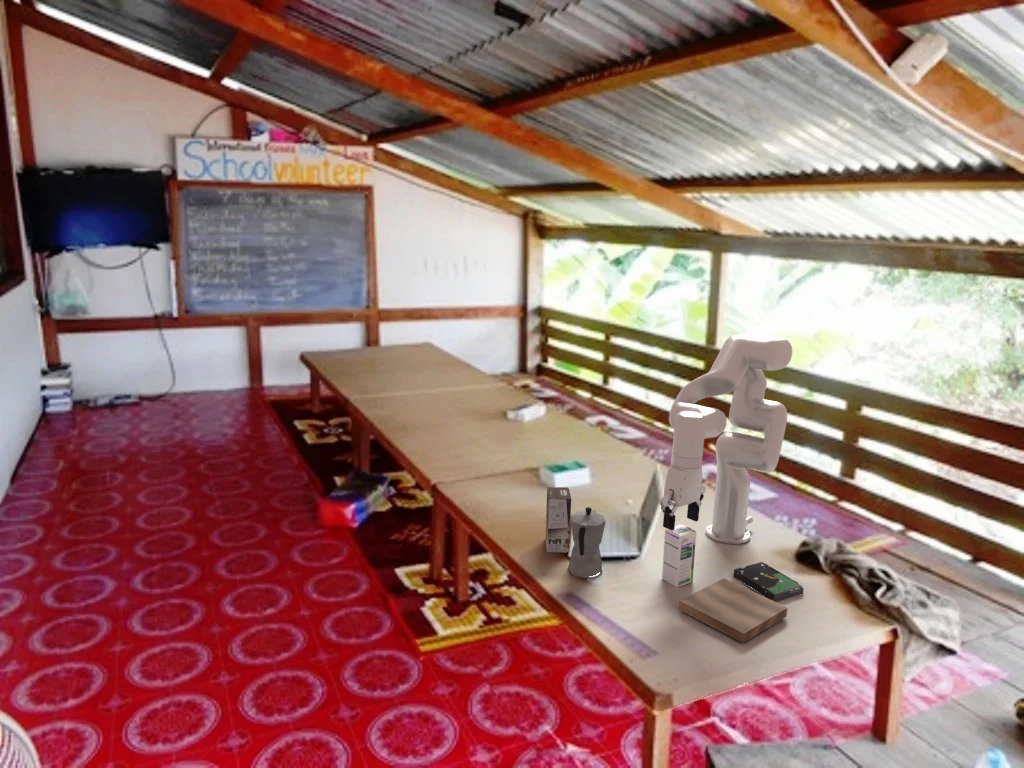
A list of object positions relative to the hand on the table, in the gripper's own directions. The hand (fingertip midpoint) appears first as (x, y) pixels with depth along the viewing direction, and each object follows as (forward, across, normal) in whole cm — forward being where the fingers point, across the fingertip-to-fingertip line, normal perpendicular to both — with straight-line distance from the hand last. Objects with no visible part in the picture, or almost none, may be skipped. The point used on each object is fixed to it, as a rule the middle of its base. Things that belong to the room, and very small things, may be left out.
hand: (680, 524), depth 198 cm
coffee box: (+16, +10, -34) cm, 39 cm away
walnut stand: (+16, +2, +19) cm, 25 cm away
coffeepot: (+17, +15, -18) cm, 29 cm away
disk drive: (+17, -18, +16) cm, 29 cm away
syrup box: (+16, -1, 0) cm, 16 cm away
